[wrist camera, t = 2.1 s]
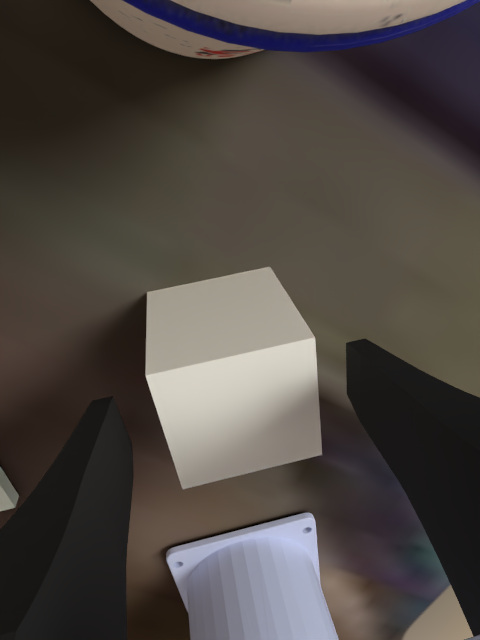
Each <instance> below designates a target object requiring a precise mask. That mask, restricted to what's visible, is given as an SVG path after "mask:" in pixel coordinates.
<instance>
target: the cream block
mask: <svg viewBox="0 0 480 640" xmlns="http://www.w3.org/2000/svg"><path fill="white" fill-rule="evenodd" d="M145 376H146V379H147V382H148V385H149V388H150V391H151V394H152V397H153V400H154V403H155V407H156V410H157V413H158V416H159V419H160V422H161V425H162V428H163V431H164V434H165V437H166V440H167V443H168V446H169V449H170V452H171V456H172V459H173V462H174V465H175V468H176V471H177V474H178V477H179V480H180V483H181V486H182V489H186V488H190V487H194V486H198V485H202V484H206V483H210V482H214V481H218V480H222V479H226V478H230V477H234V476H238V475H242V474H246V473H250V472H254V471H258V470H262V469H266V468H270V467H274V466H278V465H282V464H286V463H290V462H294V461H298V460H302V459H306V458H310V457H314V456H318V455H322V445H321V429H320V412H319V396H318V379H317V362H316V346H315V337H314V335H313V334H312V332H311V330H310V329H309V327H308V326H307V324H306V323H305V321H304V319H303V318H302V316H301V315H300V313H299V312H298V310H297V308H296V307H295V305H294V304H293V302H292V301H291V299H290V298H289V296H288V294H287V293H286V291H285V290H284V288H283V287H282V285H281V283H280V282H279V280H278V279H277V277H276V276H275V274H274V272H273V271H272V269H271V268H270V267H266V268H261V269H256V270H252V271H247V272H242V273H237V274H233V275H228V276H223V277H218V278H213V279H209V280H204V281H199V282H194V283H189V284H185V285H180V286H175V287H170V288H165V289H161V290H156V291H151V292H147V321H146V370H145Z"/></svg>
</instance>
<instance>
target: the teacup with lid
mask: <svg viewBox="0 0 480 640" xmlns="http://www.w3.org/2000/svg"><path fill="white" fill-rule="evenodd" d="M90 1H91V2H93V3H94V4H95V5H96V6H97V7H98V8H99V9H100V10H101V11H102V12H103V13H104V14H105V15H107V16H108V17H109V18H110V19H112V20H113V21H114V22H115V23H117V24H118V25H119V26H121V27H122V28H124V29H125V30H127V31H128V32H130V33H131V34H133V35H134V36H136V37H138V38H140V39H141V40H143V41H145V42H147V43H149V44H151V45H153V46H156V47H158V48H161V49H163V50H166V51H169V52H172V53H176V54H179V55H183V56H188V57H194V58H202V59H224V58H233V57H239V56H244V55H248V54H252V53H255V52H259V51H262V50H274V51H292V52H317V51H332V50H344V49H350V48H355V47H361V46H366V45H371V44H377V43H382V42H385V41H388V40H391V39H395V38H398V37H401V36H404V35H408V34H411V33H414V32H417V31H420V30H422V29H424V28H426V27H429V26H431V25H433V24H436V23H438V22H440V21H443V20H445V19H447V18H450V17H452V16H454V15H456V14H458V13H460V12H461V11H463V10H465V9H467V8H469V7H470V6H472V5H474V4H476V3H478V2H479V1H480V0H90Z"/></svg>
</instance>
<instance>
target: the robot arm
mask: <svg viewBox="0 0 480 640" xmlns="http://www.w3.org/2000/svg"><path fill="white" fill-rule="evenodd" d="M346 368H347V395H348V397H349V399H350V401H351V404H352V406H353V408H354V410H355V412H356V414H357V416H358V418H359V420H360V422H361V423H362V425H363V427H364V428H365V430H366V431H367V433H368V434H369V436H370V438H371V439H372V441H373V442H374V444H375V445H376V447H377V448H378V450H379V451H380V453H381V454H382V456H383V458H384V459H385V461H386V462H387V464H388V465H389V467H390V468H391V470H392V471H393V473H394V474H395V476H396V477H397V479H398V481H399V482H400V484H401V486H402V487H403V489H404V491H405V492H406V494H407V496H408V498H409V500H410V502H411V504H412V506H413V508H414V510H415V512H416V513H417V515H418V517H419V519H420V521H421V523H422V525H423V527H424V529H425V531H426V533H427V535H428V537H429V539H430V541H431V544H432V546H433V548H434V550H435V552H436V554H437V556H438V558H439V560H440V562H441V564H442V567H443V569H444V571H445V573H446V575H447V577H448V579H449V582H450V584H451V586H452V588H453V590H454V592H455V595H456V597H457V599H458V601H459V604H460V606H461V608H462V610H463V613H464V615H465V617H466V619H467V622H468V624H469V626H470V629H471V631H472V634H473V636H474V637H471V638H468V639H465V640H480V398H479V397H477V396H474V395H472V394H469V393H467V392H464V391H462V390H460V389H458V388H455V387H453V386H451V385H449V384H447V383H445V382H443V381H441V380H439V379H437V378H435V377H433V376H431V375H429V374H427V373H425V372H423V371H421V370H419V369H417V368H416V367H414V366H412V365H410V364H408V363H407V362H405V361H403V360H401V359H400V358H398V357H396V356H394V355H393V354H391V353H389V352H388V351H386V350H384V349H382V348H381V347H379V346H377V345H376V344H374V343H372V342H370V341H368V340H367V339H361V340H357V341H352V342H348V343H346ZM132 487H133V454H132V443H131V441H130V438H129V436H128V433H127V430H126V428H125V425H124V423H123V420H122V418H121V415H120V413H119V410H118V407H117V405H116V402H115V400H114V397H113V396H111V397H107V398H103V399H98V400H94V401H92V402H91V404H90V405H89V407H88V408H87V410H86V412H85V413H84V415H83V417H82V418H81V420H80V422H79V423H78V425H77V426H76V428H75V430H74V431H73V433H72V435H71V436H70V438H69V439H68V441H67V443H66V444H65V446H64V447H63V449H62V450H61V452H60V453H59V455H58V457H57V458H56V460H55V461H54V463H53V464H52V465H51V467H50V468H49V470H48V471H47V472H46V474H45V475H44V477H43V478H42V479H41V481H40V482H39V484H38V485H37V486H36V488H35V489H34V490H33V492H32V493H31V494H30V496H29V497H28V498H27V499H26V501H25V502H24V503H23V504H22V505H21V507H20V508H19V509H18V510H17V511H16V512H15V514H14V515H13V516H12V517H11V518H10V519H9V521H8V522H7V523H6V524H5V525H4V526H3V527H2V528H1V529H0V640H127V609H126V557H127V543H128V532H129V521H130V510H131V499H132ZM166 561H167V563H168V566H169V568H170V571H171V573H172V575H173V578H174V580H175V583H176V585H177V588H178V590H179V592H180V595H181V597H182V600H183V602H184V605H185V607H186V609H187V612H188V614H189V627H190V640H339V639H338V636H337V633H336V630H335V627H334V624H333V622H332V619H331V616H330V613H329V610H328V607H327V604H326V601H325V598H324V595H323V592H322V589H321V585H320V573H319V560H318V548H317V536H316V524H315V519H314V517H313V515H312V514H311V513H302V514H298V515H294V516H290V517H286V518H283V519H279V520H275V521H271V522H267V523H263V524H260V525H256V526H252V527H248V528H244V529H241V530H237V531H233V532H229V533H225V534H222V535H218V536H214V537H210V538H206V539H202V540H199V541H195V542H191V543H187V544H183V545H180V546H176V547H173V548H170V549H169V550H168V551H167V553H166Z"/></svg>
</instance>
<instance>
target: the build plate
mask: <svg viewBox="0 0 480 640" xmlns="http://www.w3.org/2000/svg"><path fill="white" fill-rule="evenodd" d="M18 498H19V495H18V493H17V492H16V490H15V489H14V487H13V486H12V484H11V482H10V481H9V479H8V478H7V476H6V475H5V473H4V471H3V470H2V468H1V467H0V511H4V510H8V509H12V508H15V507H16V504H17V501H18Z"/></svg>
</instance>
